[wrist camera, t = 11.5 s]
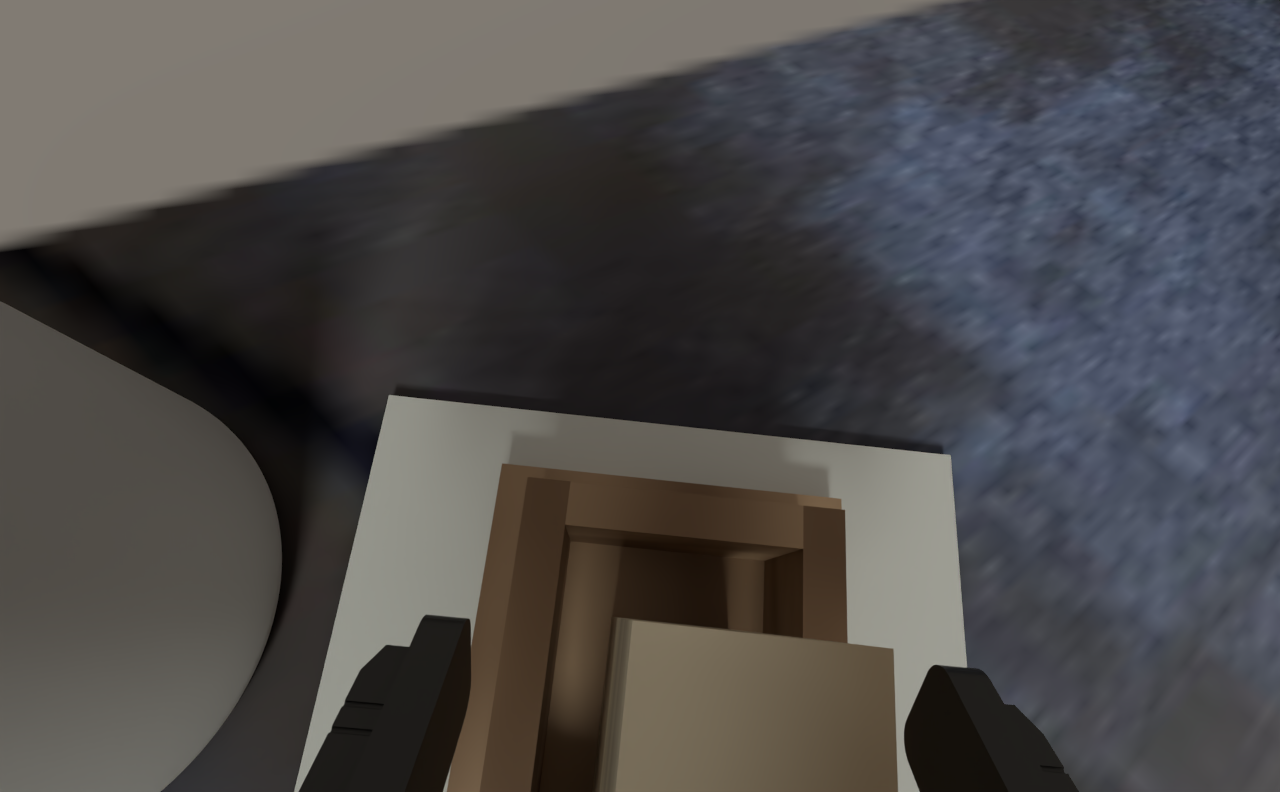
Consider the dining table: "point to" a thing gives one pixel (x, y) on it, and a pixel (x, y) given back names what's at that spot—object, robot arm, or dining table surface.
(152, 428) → the cylinder vase
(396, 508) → the mat
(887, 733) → the beech block
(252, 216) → the dining table surface
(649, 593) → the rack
